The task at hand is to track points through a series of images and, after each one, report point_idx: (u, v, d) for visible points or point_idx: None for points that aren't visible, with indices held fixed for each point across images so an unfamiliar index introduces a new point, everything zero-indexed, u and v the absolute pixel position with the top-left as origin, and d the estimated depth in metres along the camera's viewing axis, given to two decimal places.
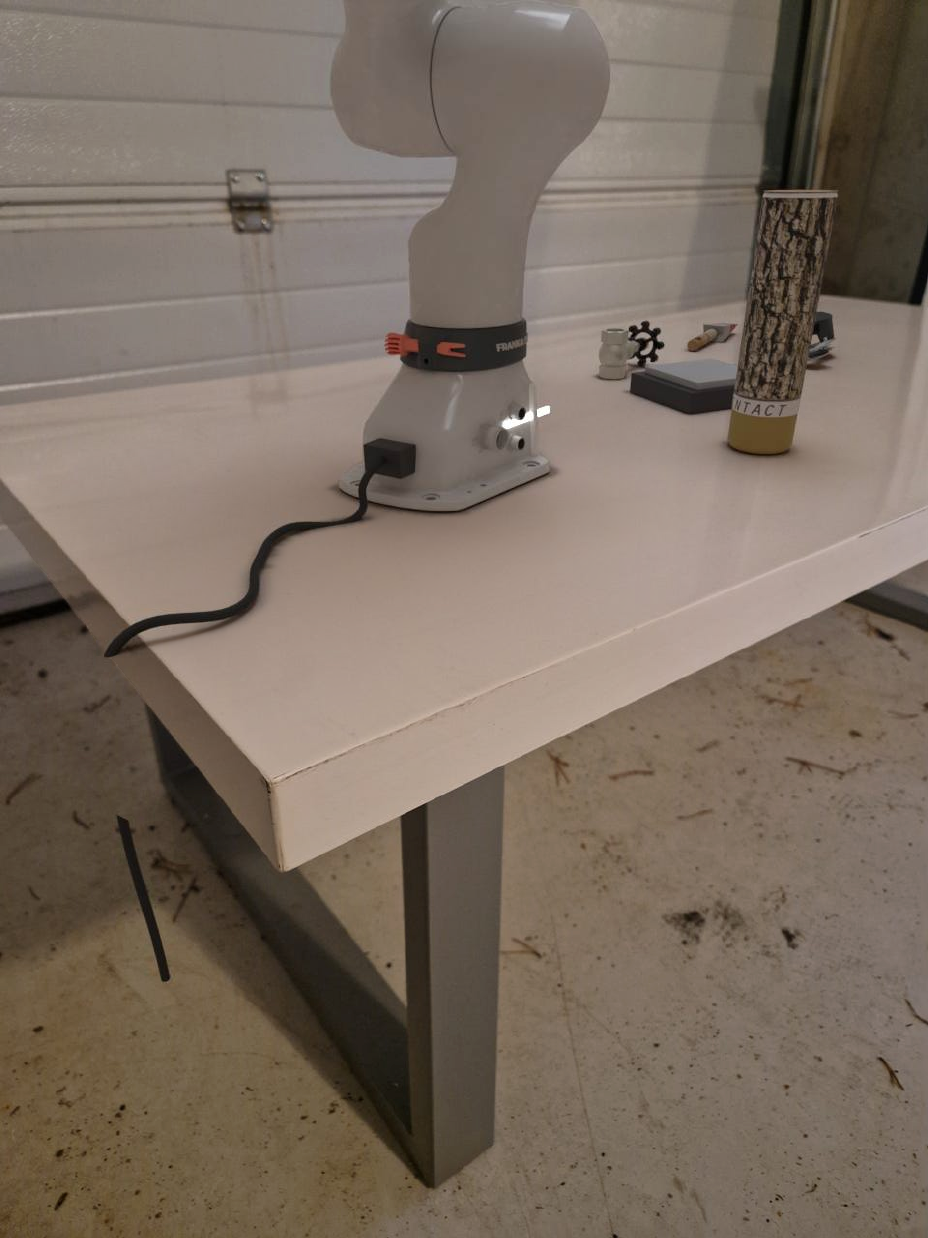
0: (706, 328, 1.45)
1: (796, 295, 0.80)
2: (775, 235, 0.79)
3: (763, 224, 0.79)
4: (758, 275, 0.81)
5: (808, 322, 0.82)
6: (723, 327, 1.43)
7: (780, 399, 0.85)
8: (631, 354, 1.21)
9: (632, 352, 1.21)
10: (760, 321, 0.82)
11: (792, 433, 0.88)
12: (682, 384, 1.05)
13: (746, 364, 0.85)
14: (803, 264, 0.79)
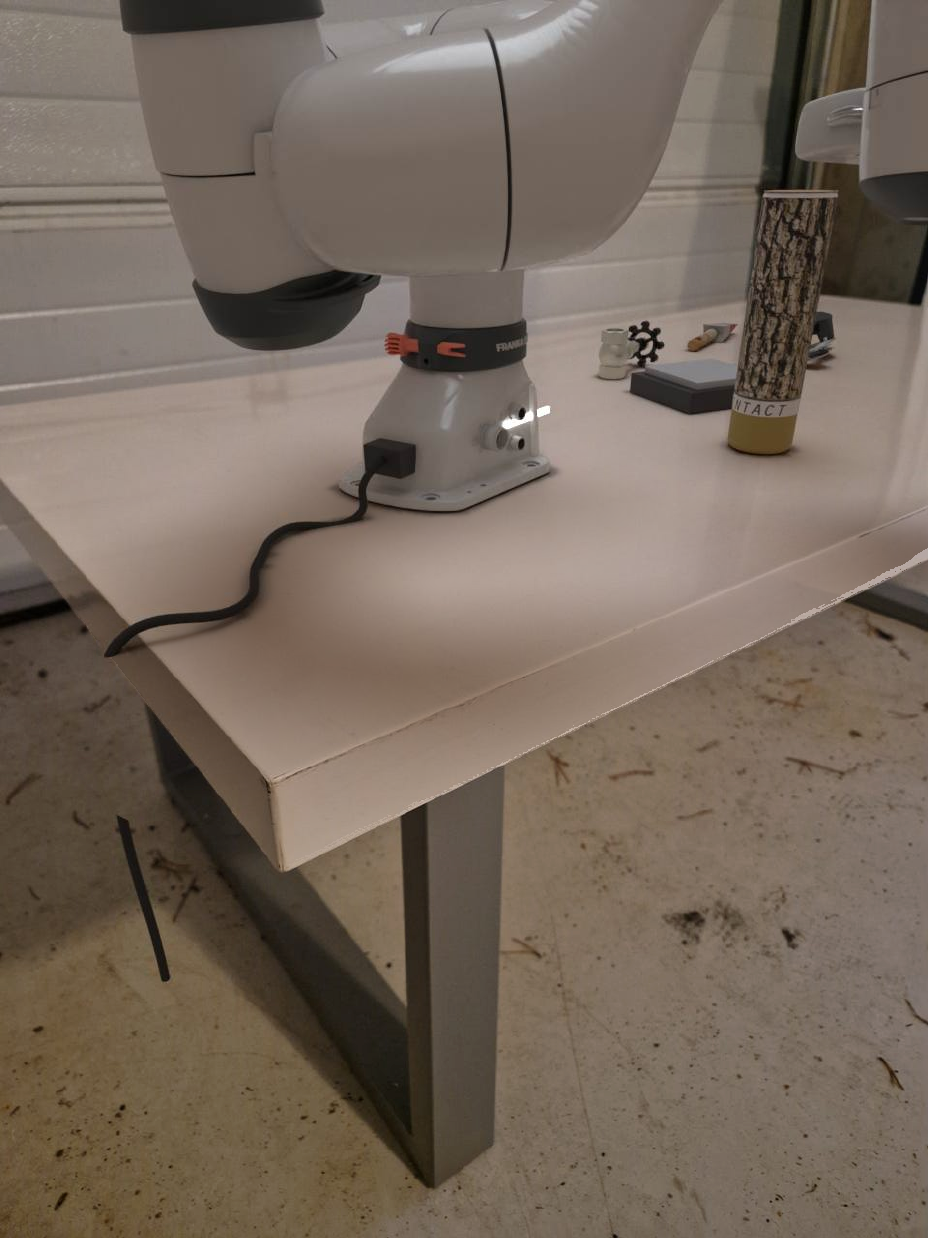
0: (706, 328, 1.45)
1: (796, 295, 0.80)
2: (775, 235, 0.79)
3: (763, 224, 0.79)
4: (758, 275, 0.81)
5: (808, 322, 0.82)
6: (723, 327, 1.43)
7: (780, 399, 0.85)
8: (631, 354, 1.21)
9: (632, 352, 1.21)
10: (760, 321, 0.82)
11: (792, 433, 0.88)
12: (682, 384, 1.05)
13: (746, 364, 0.85)
14: (803, 264, 0.79)
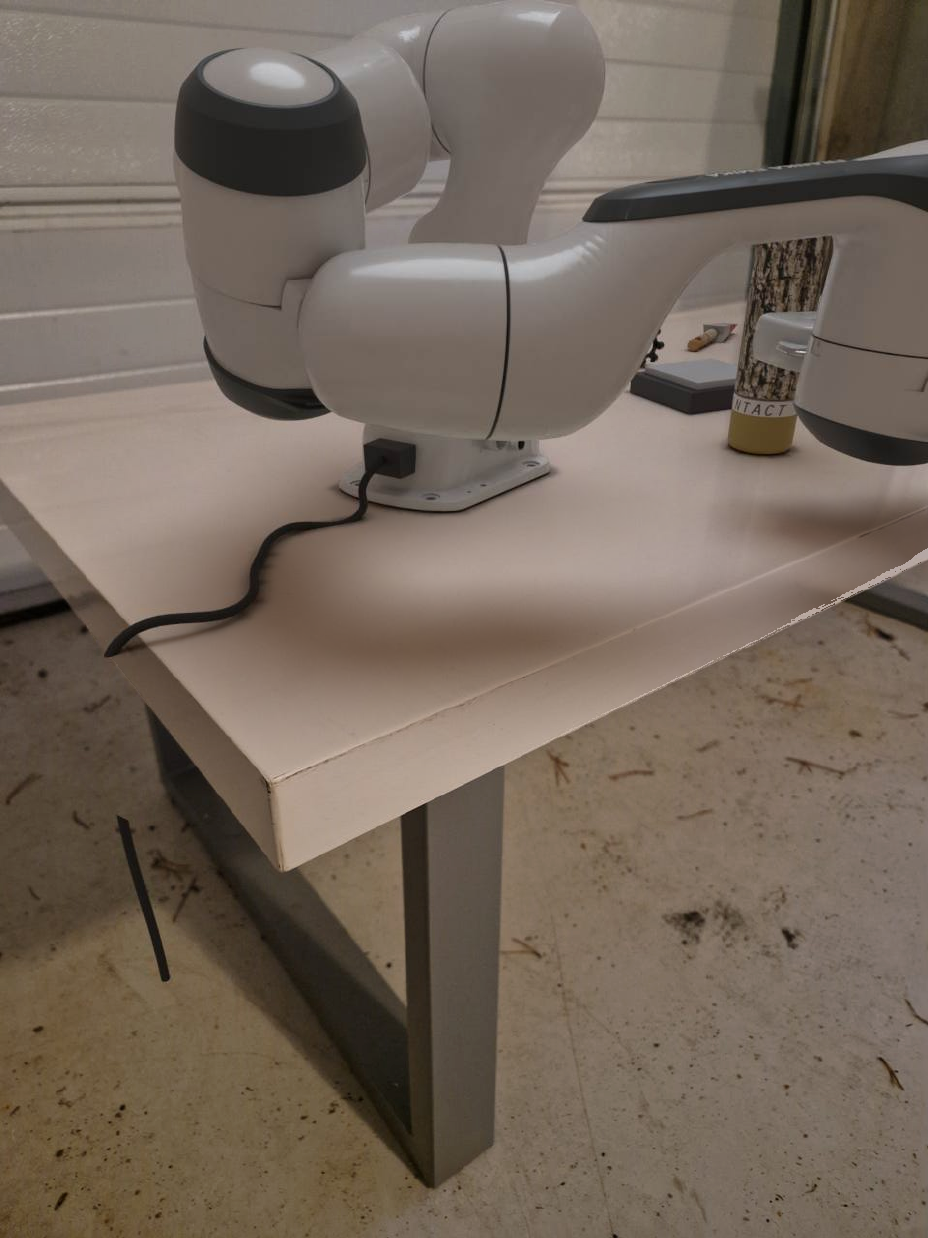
0: (706, 328, 1.45)
1: (797, 295, 0.80)
2: None
3: None
4: (758, 275, 0.81)
5: None
6: (723, 327, 1.43)
7: (780, 399, 0.85)
8: None
9: None
10: None
11: (792, 433, 0.88)
12: (682, 384, 1.05)
13: (746, 364, 0.85)
14: (803, 264, 0.79)
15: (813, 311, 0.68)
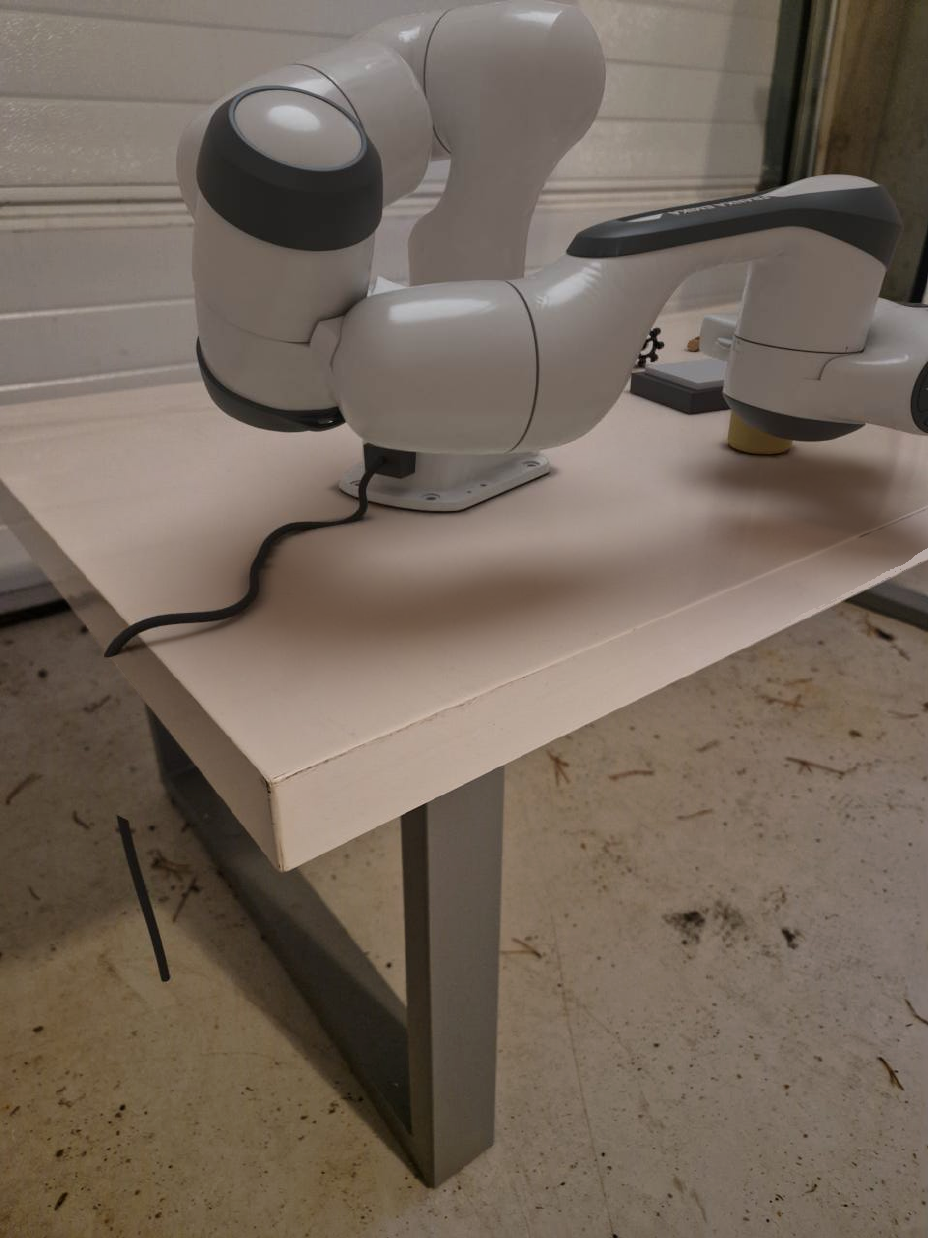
0: None
1: None
2: None
3: None
4: None
5: None
6: None
7: None
8: None
9: None
10: None
11: None
12: (682, 384, 1.05)
13: None
14: None
15: None
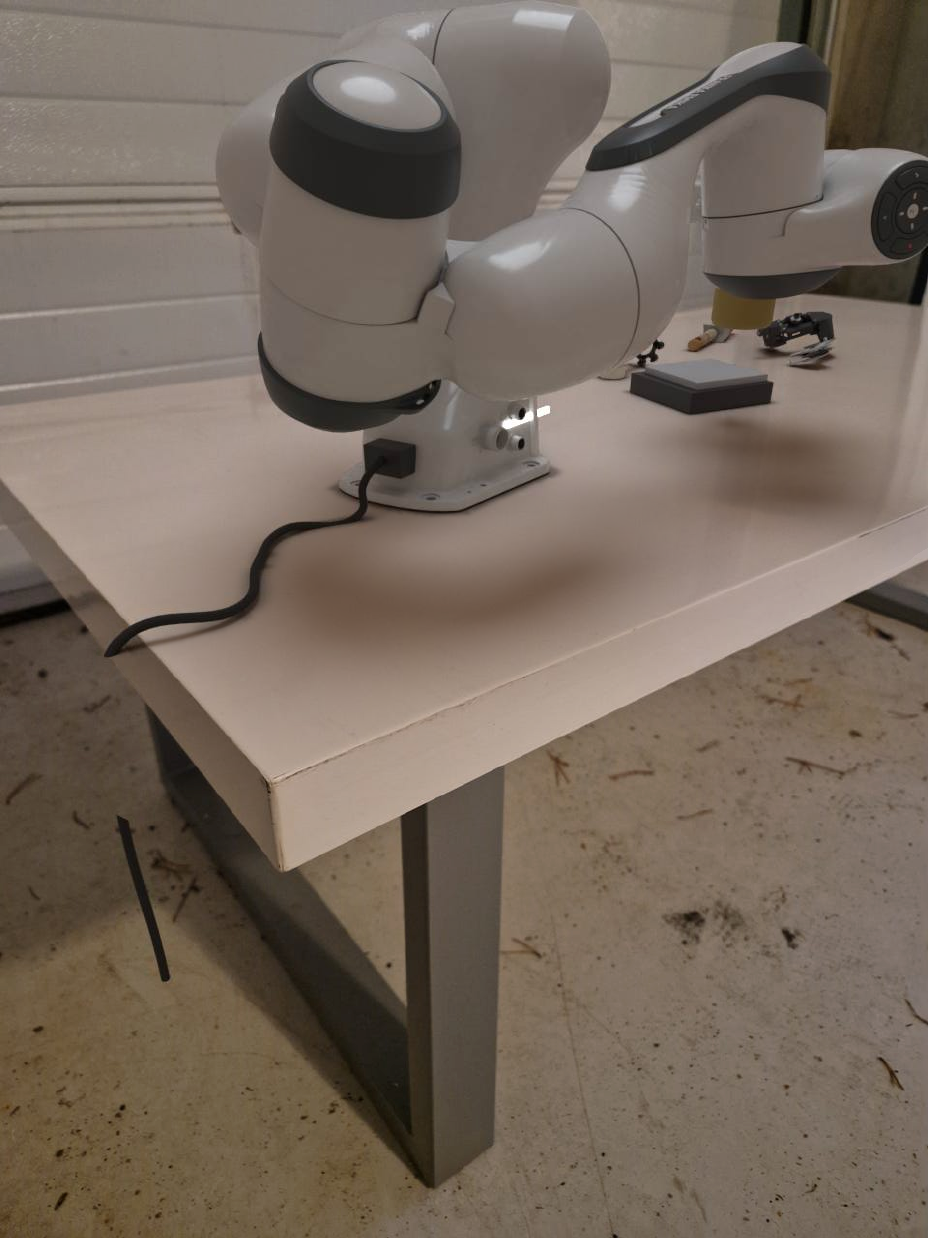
0: (706, 328, 1.45)
1: None
2: None
3: None
4: None
5: None
6: None
7: None
8: None
9: None
10: None
11: (772, 309, 0.92)
12: (682, 384, 1.05)
13: None
14: None
15: None
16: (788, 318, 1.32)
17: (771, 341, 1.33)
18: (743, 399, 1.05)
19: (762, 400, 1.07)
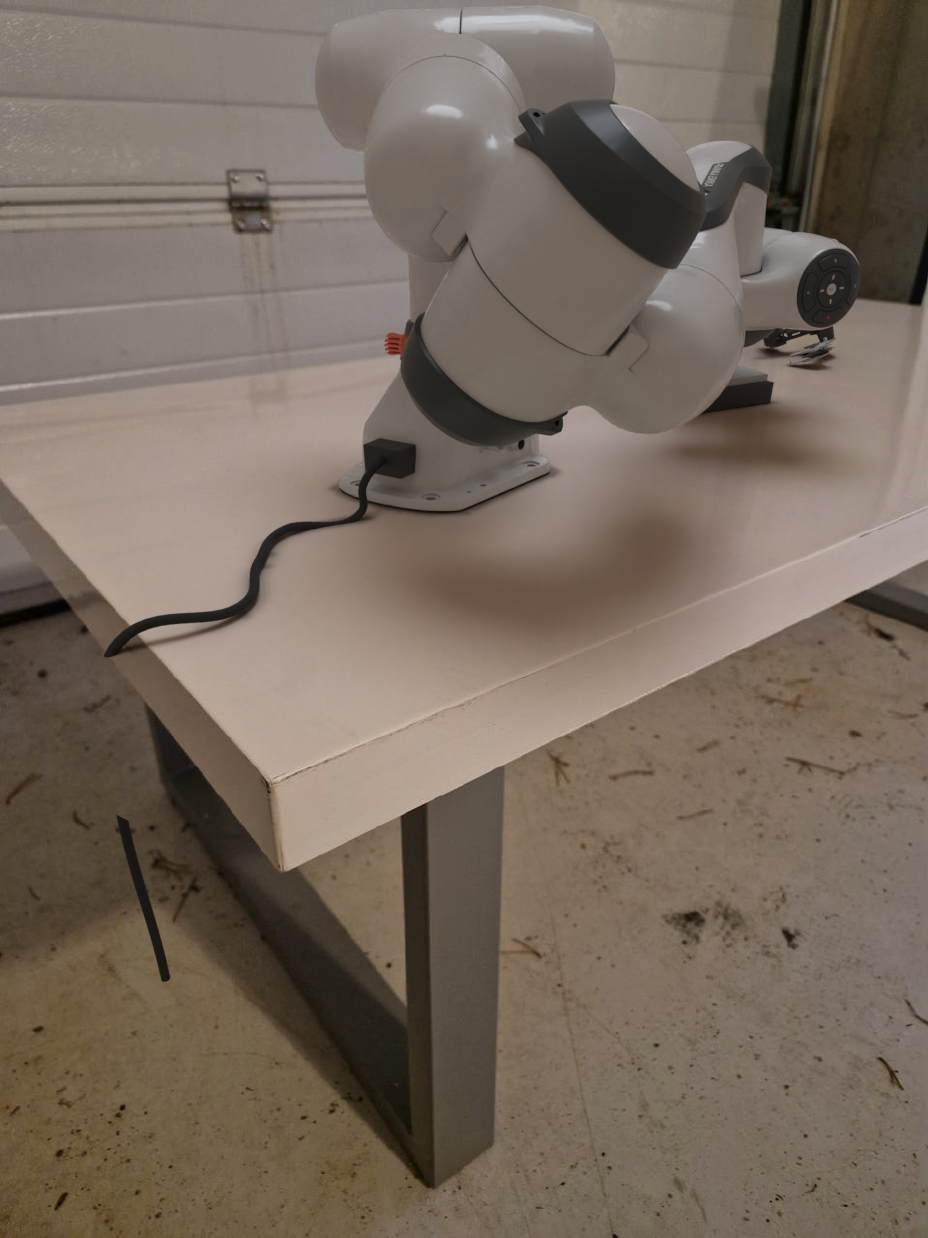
0: None
1: None
2: None
3: None
4: None
5: None
6: None
7: None
8: None
9: None
10: None
11: None
12: None
13: None
14: None
15: None
16: None
17: (771, 341, 1.33)
18: (743, 399, 1.05)
19: (762, 400, 1.07)
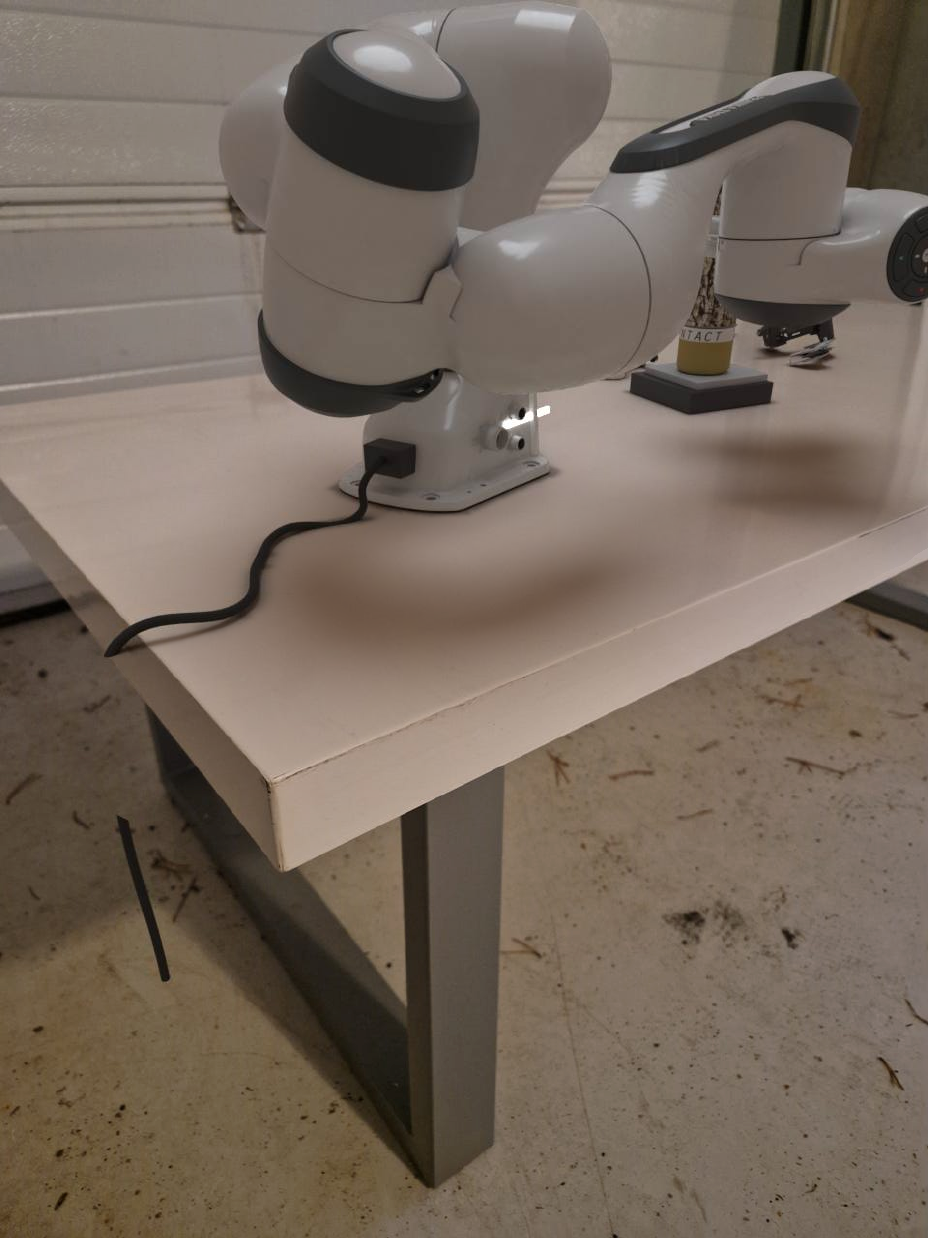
0: None
1: None
2: None
3: None
4: None
5: None
6: None
7: (717, 327, 1.03)
8: None
9: None
10: None
11: (728, 357, 1.06)
12: (682, 384, 1.05)
13: None
14: None
15: None
16: None
17: (771, 341, 1.33)
18: (743, 399, 1.05)
19: (762, 400, 1.07)
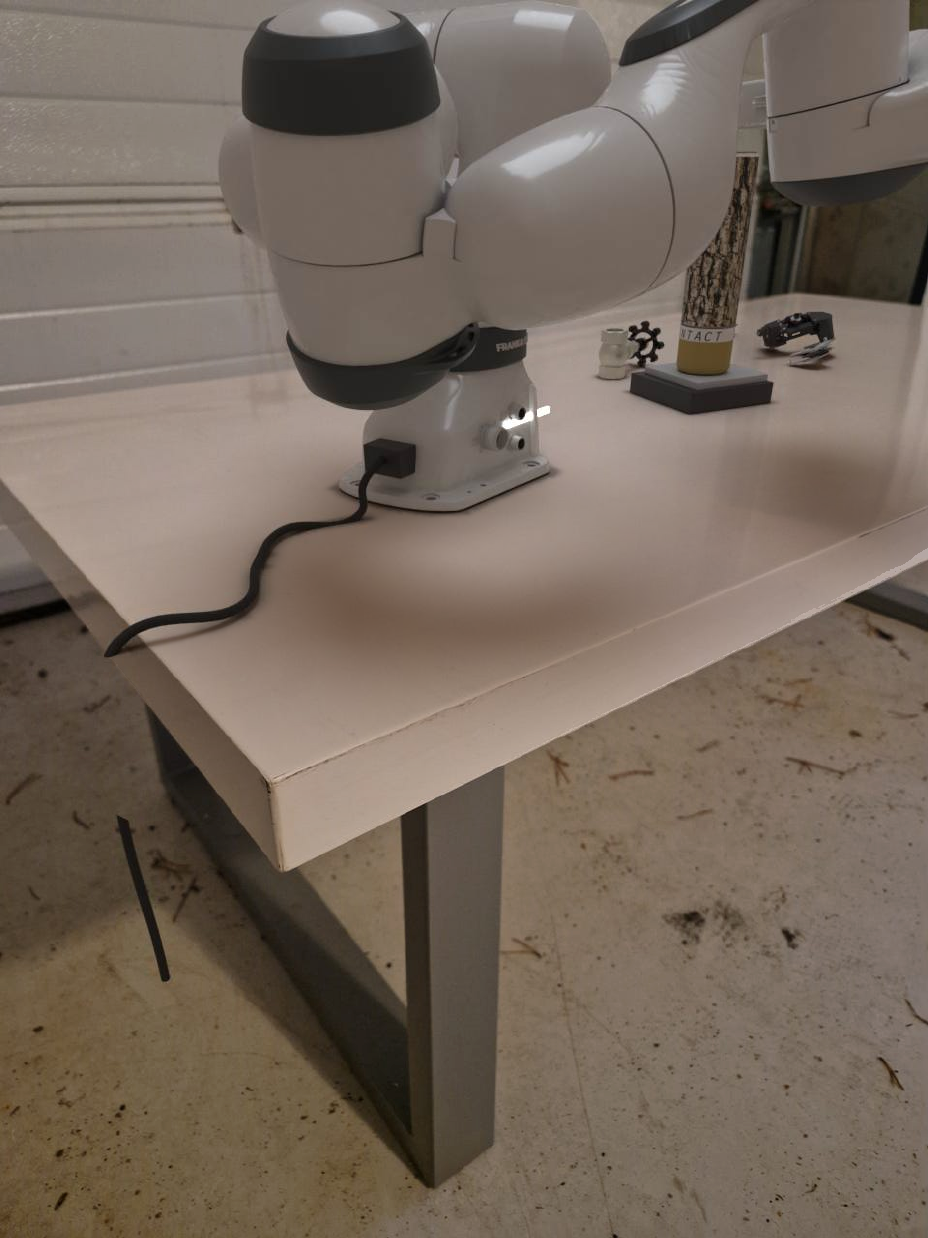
0: None
1: (727, 238, 0.98)
2: None
3: None
4: None
5: (738, 261, 1.00)
6: None
7: (717, 327, 1.03)
8: (631, 354, 1.21)
9: (632, 352, 1.21)
10: (699, 261, 1.00)
11: (728, 357, 1.06)
12: (682, 384, 1.05)
13: (689, 298, 1.03)
14: (731, 212, 0.96)
15: None
16: (788, 318, 1.32)
17: (771, 341, 1.33)
18: (743, 399, 1.05)
19: (762, 400, 1.07)
